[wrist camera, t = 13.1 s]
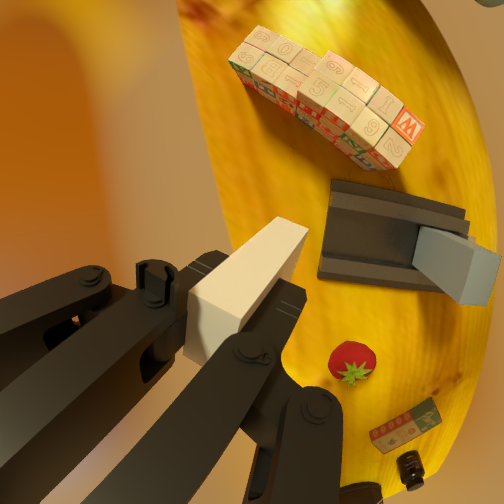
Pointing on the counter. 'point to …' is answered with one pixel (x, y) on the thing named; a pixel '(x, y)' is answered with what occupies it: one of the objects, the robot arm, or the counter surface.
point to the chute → (381, 235)
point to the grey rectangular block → (456, 265)
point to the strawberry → (351, 362)
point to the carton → (406, 426)
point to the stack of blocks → (329, 98)
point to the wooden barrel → (361, 494)
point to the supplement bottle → (411, 470)
